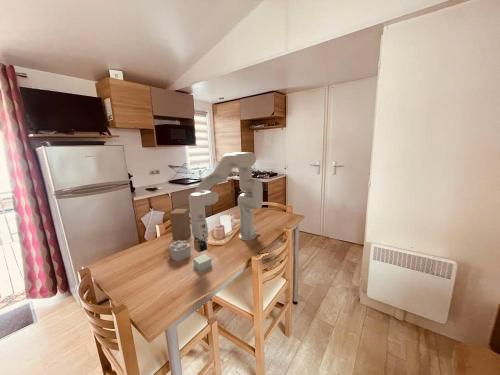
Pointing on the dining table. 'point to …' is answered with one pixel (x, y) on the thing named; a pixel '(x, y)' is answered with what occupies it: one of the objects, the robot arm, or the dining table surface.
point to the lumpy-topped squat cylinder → (180, 250)
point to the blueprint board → (203, 269)
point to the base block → (202, 262)
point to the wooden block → (180, 224)
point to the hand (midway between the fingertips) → (200, 248)
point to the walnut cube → (198, 245)
